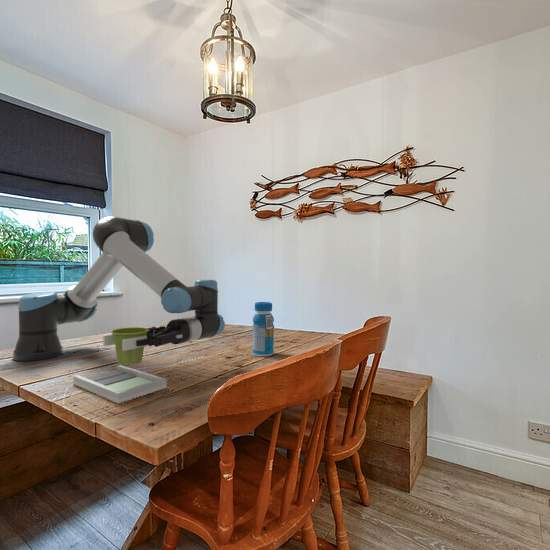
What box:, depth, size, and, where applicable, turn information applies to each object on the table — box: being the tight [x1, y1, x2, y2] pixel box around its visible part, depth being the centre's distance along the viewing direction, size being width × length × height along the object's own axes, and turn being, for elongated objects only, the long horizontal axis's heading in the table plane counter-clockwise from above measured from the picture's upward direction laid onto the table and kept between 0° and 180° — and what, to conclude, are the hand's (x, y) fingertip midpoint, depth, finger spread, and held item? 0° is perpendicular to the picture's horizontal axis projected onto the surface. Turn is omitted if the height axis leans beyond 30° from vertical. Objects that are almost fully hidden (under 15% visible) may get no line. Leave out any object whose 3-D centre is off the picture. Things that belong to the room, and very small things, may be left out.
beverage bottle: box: [252, 301, 275, 357], centre depth 132 cm, size 8×8×20 cm
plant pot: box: [110, 326, 149, 366], centre depth 92 cm, size 9×9×9 cm
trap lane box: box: [72, 364, 167, 404], centre depth 95 cm, size 23×14×2 cm, turn 54°
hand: (113, 342), depth 88 cm, fingers closed on plant pot, 8 cm apart
